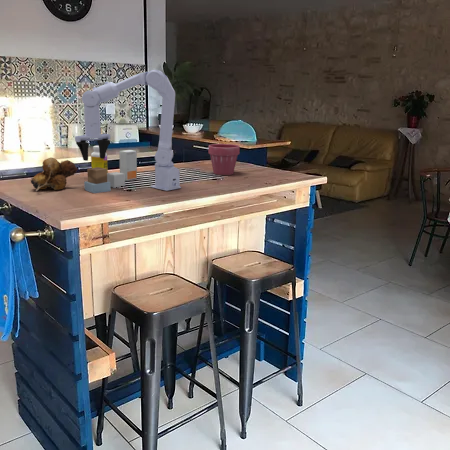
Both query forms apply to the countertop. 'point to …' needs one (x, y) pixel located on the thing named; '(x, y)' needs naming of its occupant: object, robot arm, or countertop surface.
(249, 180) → the countertop surface
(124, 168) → the skincare box
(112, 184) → the grey block
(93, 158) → the supplement bottle
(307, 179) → the countertop surface
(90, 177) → the walnut block
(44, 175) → the seed pod
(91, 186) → the base block
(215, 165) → the plant pot
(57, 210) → the countertop surface
